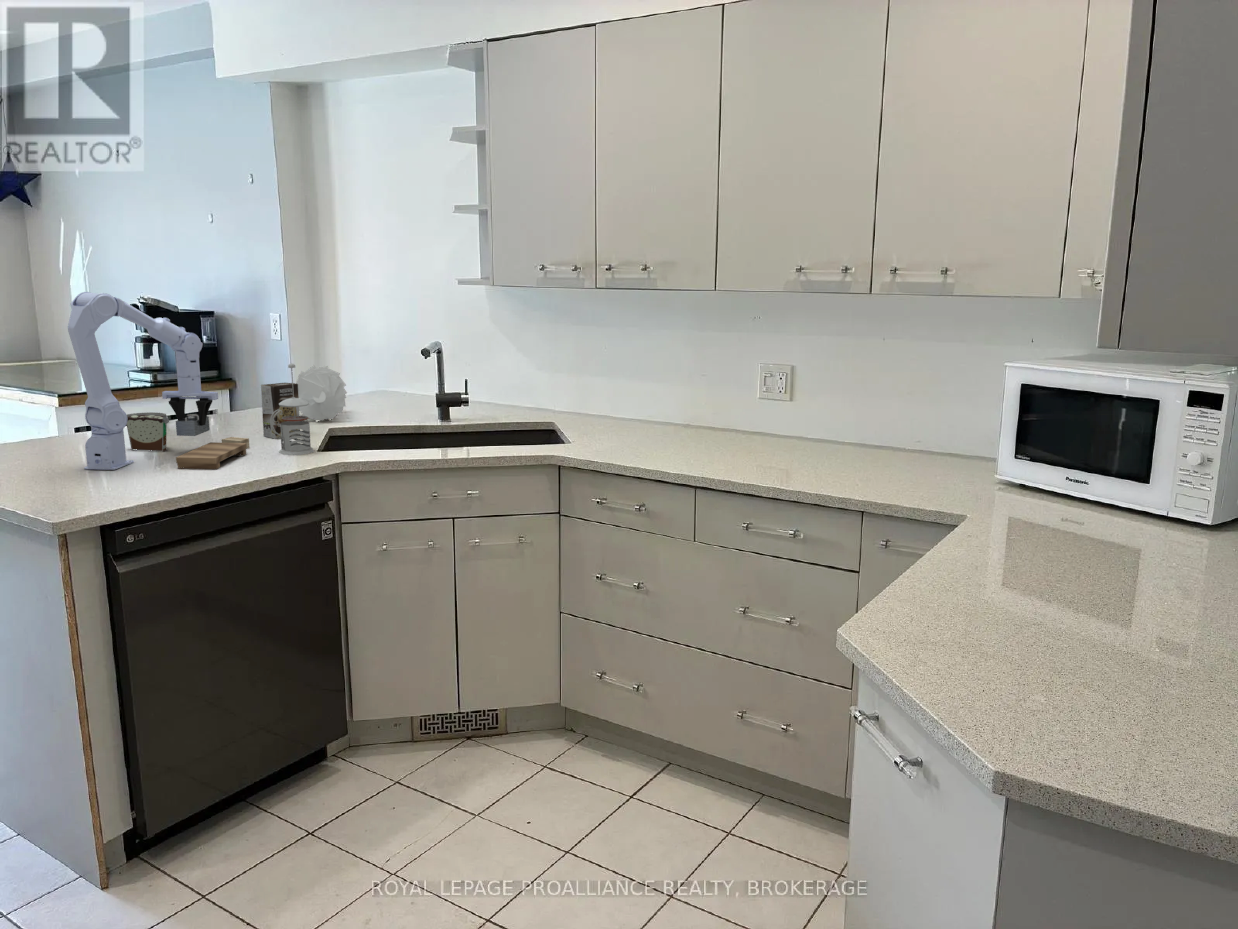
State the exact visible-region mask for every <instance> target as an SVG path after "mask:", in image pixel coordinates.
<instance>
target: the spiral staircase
mask: <svg viewBox="0 0 1238 929" xmlns="http://www.w3.org/2000/svg"><path fill="white" fill-rule="evenodd" d="M340 374H341V372H337V371H335V370H332V369H330V368H329V365H327V366H325V365H324V366H317V367H316V366H315V365H314V364H313V365H312V366H311V367H310V368H308V369H307V370H305V371H302V370H301V371H300V373H299V374H298V377H297V380H296V382H295V384H298V397H299V398H300V399H303V400H305V401H307V402H308V403H309V405H307V406H302V407H299V413H301V414H302V415H301V416H307V417H308V419H310V420H314V421H315V422H316V420H322V421H325V420H324V419H326V420H329V419H332V420H333V419H334V418H335V417H336V416H337V415H338V414H339V413H341V414H343V411H344V407H345V408H346V407H347V406H346V398H347V393H348V392H347V391H346V389H345V387H346V386H347V384H346V383H345V382H344V380H343V379H342V378H341V377H340Z"/></svg>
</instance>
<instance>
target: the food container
mask: <svg viewBox="0 0 1238 929" xmlns="http://www.w3.org/2000/svg"><path fill="white" fill-rule="evenodd" d="M126 415H127V419H128V420H127V424H126V428H127V429H126V430H127V433H128V434H127V435H128V438H129V444H130V449H137V450H150V451H149V452H160V451H162V452H166V450H167V434H168V433H167V430H168V428H167V425H168V424H169V423H170V419H169V417H168V415H167V413H163V412H150V411H149V412H147V411H146V412H136V413H126ZM137 450H136V451H137ZM151 450H152V451H151Z"/></svg>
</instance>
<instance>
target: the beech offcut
mask: <svg viewBox="0 0 1238 929" xmlns="http://www.w3.org/2000/svg"><path fill="white" fill-rule="evenodd" d="M221 443H246V444H247V449H250V448H251V447H250V438H248V437H246V438H245V437H236V436H235V437H234V436H229V437H226V438H221Z"/></svg>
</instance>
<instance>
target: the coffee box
mask: <svg viewBox="0 0 1238 929" xmlns="http://www.w3.org/2000/svg"><path fill="white" fill-rule="evenodd" d="M260 388H261V390H260V391H261V410H262V411H261V412H262V430H263V431H262V432H263V437H266V438H271V439H274V438H275V439H274V440H276V439H277V440H278V439H281V436H280V435H281V425H280V423H282V422H286V421H284V420H282V419H281V418H282V417H285V416H294V409H295V416H297V415H298V416H300V411H299V407H281V406H279V403H280V402H282V401H283V400H286V399H289V398H292V397H293V391H294V397H295V398H299V397H298V384H296V382H295V383H294V382H293V386H292V382H278V383H277V382H276V383H268V384H267V383H266V384H261V385H260ZM278 409H279V410H282V415H280V414H281V411H280V413H279V412H278V411H279V410H278ZM276 410H278V411H276ZM274 411H276V412H278V413H277V414H276V412H275V413H274V414H273V412H274ZM272 414H273V416H272V418H271V415H272ZM275 414H276V415H275ZM274 415H275V417H274ZM273 417H274V420H273ZM270 418H271V426H272V421H273V426H274V429H275V431H276V432H277V433H278V434H280V435H278V434H275V433H274V432H275V431H274V429H273V426H272V429H273V431H274V432H273V431H272V429H271V426H270ZM282 430H283V429H282ZM296 430H300V431H301V429H296ZM289 432H295V431H292V430H291V431H289ZM282 435H283V433H282ZM298 435H301V434H298ZM290 436H291V437H293V436H294V435H290Z"/></svg>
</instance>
